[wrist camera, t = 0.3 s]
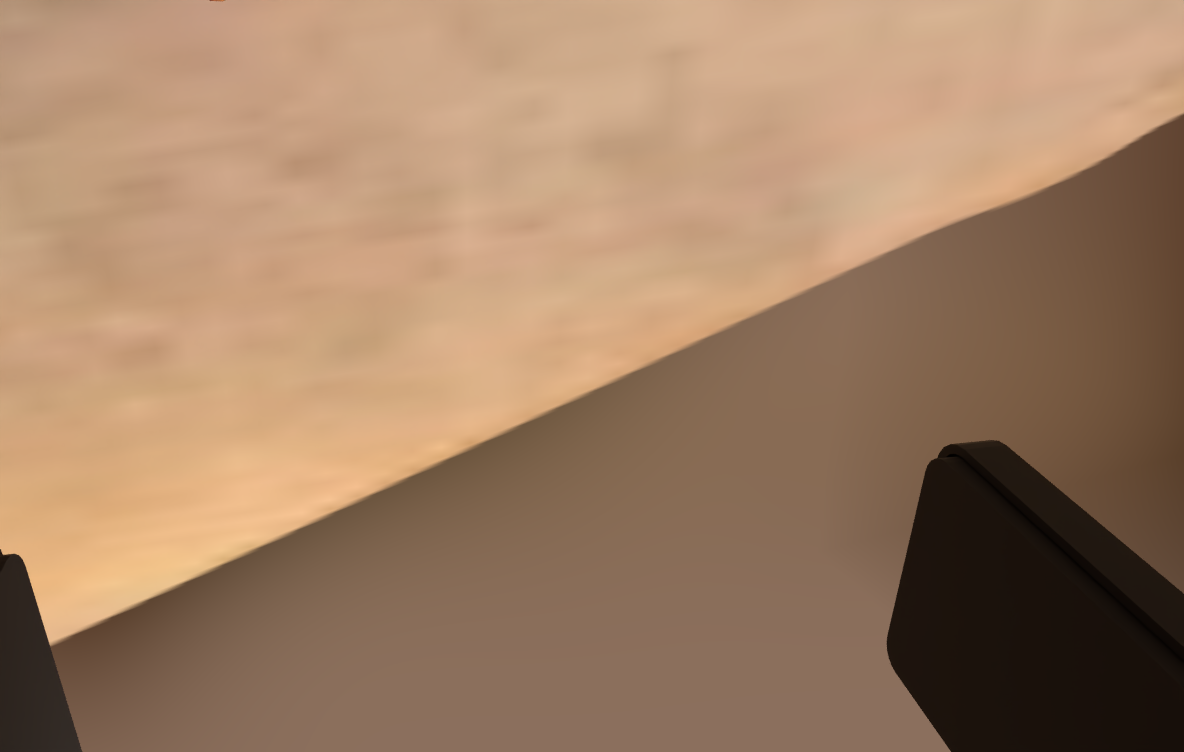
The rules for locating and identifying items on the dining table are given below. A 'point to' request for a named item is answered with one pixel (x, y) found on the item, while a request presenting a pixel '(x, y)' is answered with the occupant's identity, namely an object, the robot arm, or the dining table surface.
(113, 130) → the dining table surface
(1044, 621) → the robot arm
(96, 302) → the dining table surface
